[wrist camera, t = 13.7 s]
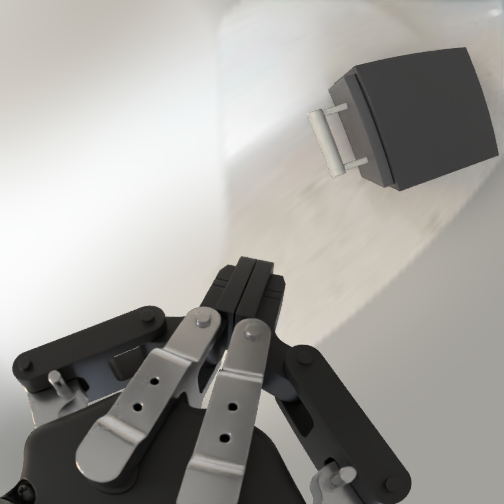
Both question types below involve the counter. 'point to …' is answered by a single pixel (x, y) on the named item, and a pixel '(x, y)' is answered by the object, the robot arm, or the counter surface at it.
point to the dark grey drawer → (353, 134)
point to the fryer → (428, 113)
